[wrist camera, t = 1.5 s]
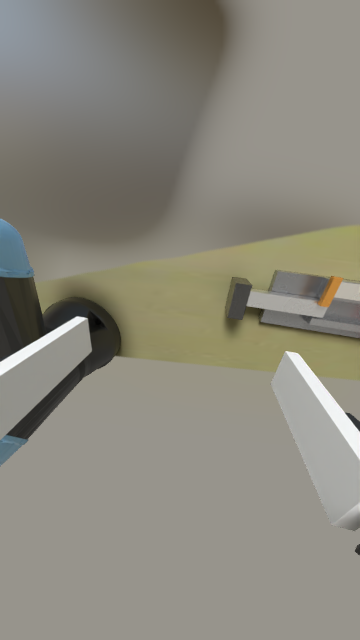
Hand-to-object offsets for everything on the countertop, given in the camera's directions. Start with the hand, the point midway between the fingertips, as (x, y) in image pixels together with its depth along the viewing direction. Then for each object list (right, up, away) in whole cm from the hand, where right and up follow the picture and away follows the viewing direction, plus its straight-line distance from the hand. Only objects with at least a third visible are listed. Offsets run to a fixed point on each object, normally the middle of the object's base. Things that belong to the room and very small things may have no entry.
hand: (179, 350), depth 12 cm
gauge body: (+23, +4, +15) cm, 28 cm away
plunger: (+14, +6, +14) cm, 21 cm away
